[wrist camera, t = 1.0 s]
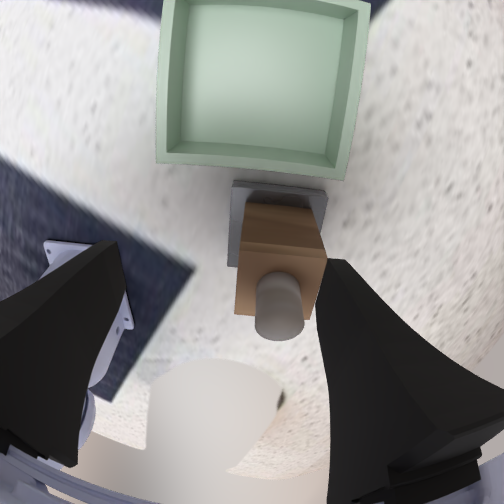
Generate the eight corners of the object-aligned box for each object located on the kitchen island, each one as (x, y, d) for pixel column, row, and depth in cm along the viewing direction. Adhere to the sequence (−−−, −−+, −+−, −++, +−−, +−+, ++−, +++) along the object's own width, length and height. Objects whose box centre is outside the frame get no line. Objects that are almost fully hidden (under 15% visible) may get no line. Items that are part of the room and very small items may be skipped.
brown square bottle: (300, 262, 21) (314, 355, 14) (240, 257, 21) (230, 349, 14) (311, 209, 18) (338, 293, 12) (245, 201, 18) (234, 285, 12)
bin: (330, 162, 18) (343, 181, 15) (173, 147, 17) (155, 163, 15) (351, 15, 12) (370, 3, 9) (183, -1, 12) (166, -16, 9)
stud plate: (308, 264, 22) (317, 310, 18) (228, 256, 22) (221, 303, 18) (324, 190, 19) (342, 227, 15) (233, 180, 19) (224, 214, 14)
